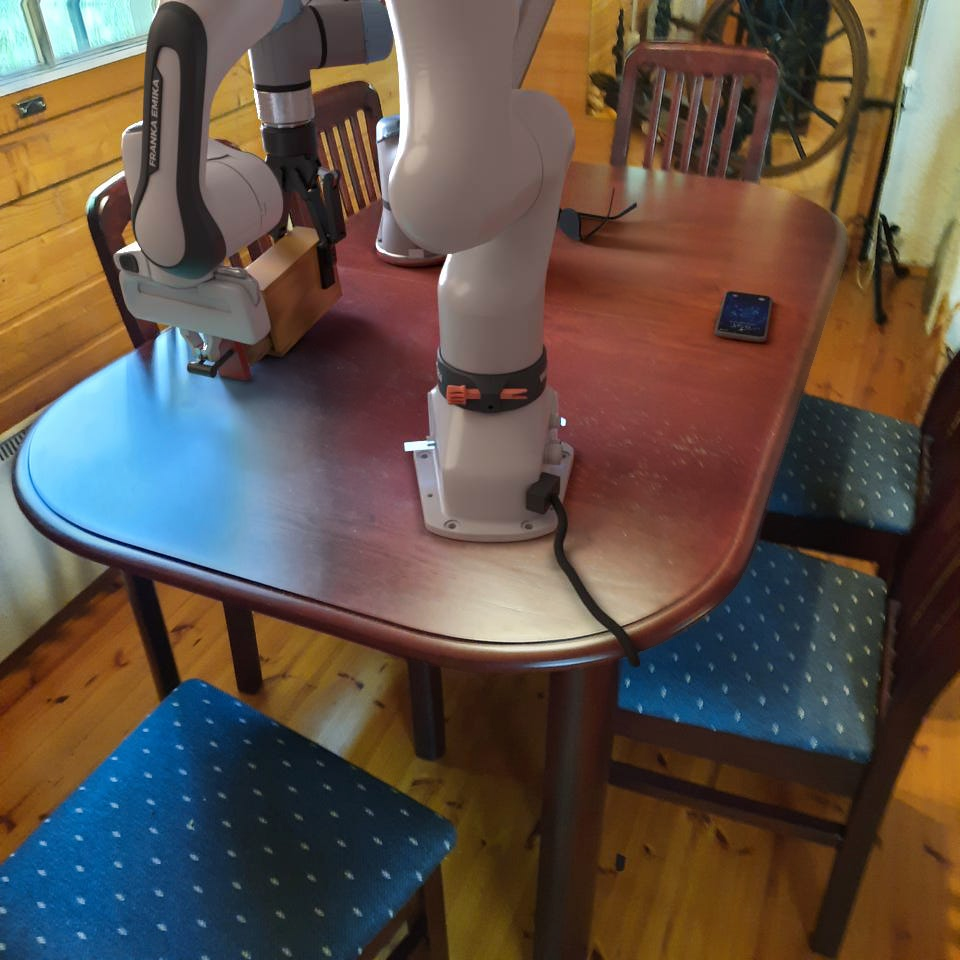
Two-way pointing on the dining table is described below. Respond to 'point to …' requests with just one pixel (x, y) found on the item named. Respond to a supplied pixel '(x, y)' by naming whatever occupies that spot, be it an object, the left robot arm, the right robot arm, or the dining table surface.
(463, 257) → the right robot arm
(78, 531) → the dining table surface
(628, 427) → the dining table surface
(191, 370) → the drawer
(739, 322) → the smartphone
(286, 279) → the cabinet
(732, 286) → the dining table surface
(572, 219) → the sunglasses
